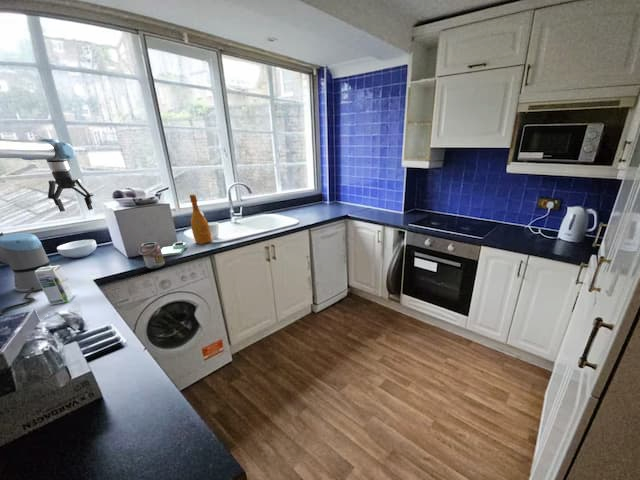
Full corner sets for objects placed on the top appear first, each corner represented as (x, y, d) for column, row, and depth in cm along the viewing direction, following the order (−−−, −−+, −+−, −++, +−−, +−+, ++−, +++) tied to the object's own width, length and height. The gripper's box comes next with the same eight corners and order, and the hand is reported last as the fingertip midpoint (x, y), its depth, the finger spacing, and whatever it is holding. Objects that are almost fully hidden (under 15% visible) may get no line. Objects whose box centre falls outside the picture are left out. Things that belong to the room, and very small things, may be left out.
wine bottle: (200, 245, 182) (188, 196, 170) (192, 242, 187) (179, 195, 175) (215, 241, 190) (204, 193, 178) (206, 238, 195) (195, 192, 183)
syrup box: (49, 305, 116) (32, 272, 110) (57, 298, 121) (41, 266, 115) (68, 302, 118) (52, 269, 112) (74, 295, 123) (59, 264, 117)
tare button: (182, 245, 174) (181, 242, 174) (174, 246, 173) (173, 243, 173) (183, 243, 178) (183, 241, 177) (176, 244, 177) (175, 241, 176)
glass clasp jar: (156, 270, 147) (148, 247, 142) (140, 269, 148) (133, 247, 143) (169, 263, 155) (162, 241, 150) (154, 262, 156) (147, 241, 151)
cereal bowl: (68, 253, 174) (63, 242, 171) (103, 248, 180) (99, 237, 177) (56, 262, 160) (50, 250, 157) (94, 257, 166) (89, 245, 163)
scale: (182, 254, 168) (180, 249, 167) (156, 257, 164) (155, 252, 163) (188, 246, 180) (186, 241, 179) (164, 249, 177) (163, 244, 176)
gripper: (91, 169, 162) (105, 207, 170) (38, 171, 157) (55, 210, 165) (83, 170, 155) (98, 210, 163) (27, 172, 150) (45, 213, 159)
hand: (76, 210), depth 164 cm, fingers open, 13 cm apart
